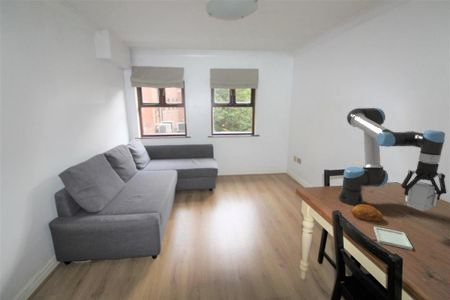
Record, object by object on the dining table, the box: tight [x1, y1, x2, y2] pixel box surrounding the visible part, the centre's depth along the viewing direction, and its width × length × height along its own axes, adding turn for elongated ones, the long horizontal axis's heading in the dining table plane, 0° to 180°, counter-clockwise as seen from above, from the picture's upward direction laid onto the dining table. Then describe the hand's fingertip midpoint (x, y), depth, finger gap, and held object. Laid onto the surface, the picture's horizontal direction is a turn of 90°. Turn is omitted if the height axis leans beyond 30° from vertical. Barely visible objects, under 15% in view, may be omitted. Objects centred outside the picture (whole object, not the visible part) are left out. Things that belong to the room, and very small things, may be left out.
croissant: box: [350, 203, 383, 222], centre depth 129 cm, size 14×16×8 cm
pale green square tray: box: [373, 226, 413, 251], centre depth 108 cm, size 13×13×1 cm
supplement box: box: [406, 181, 436, 212], centre depth 111 cm, size 7×7×13 cm
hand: (419, 203), depth 112 cm, fingers closed on supplement box, 10 cm apart
